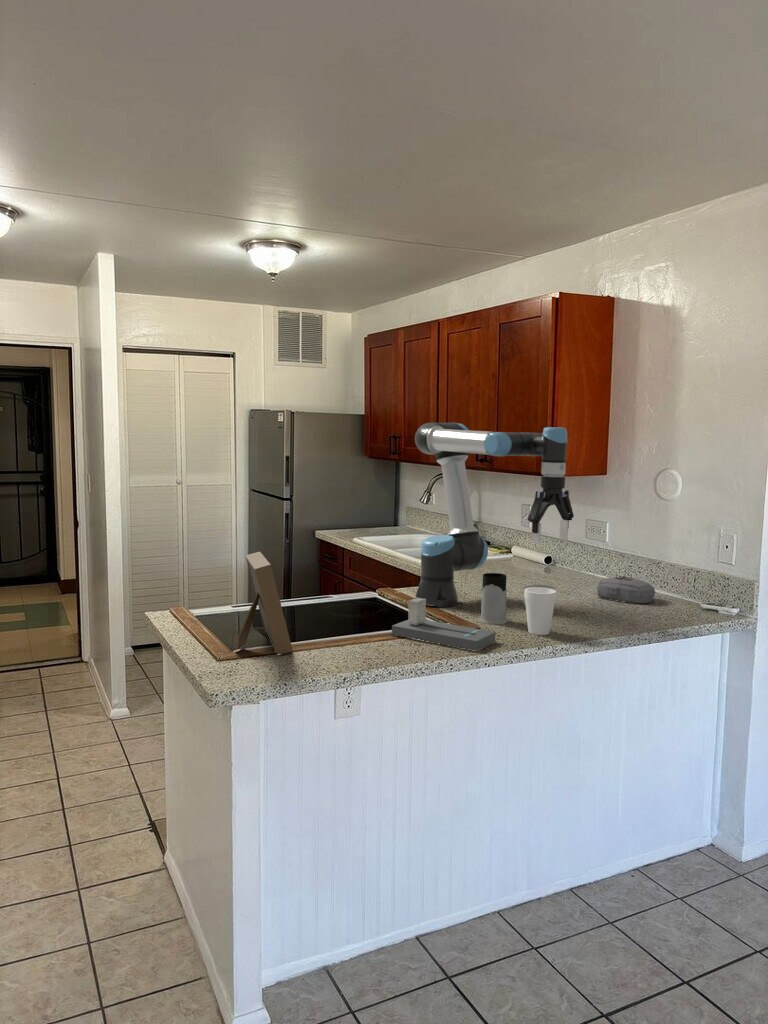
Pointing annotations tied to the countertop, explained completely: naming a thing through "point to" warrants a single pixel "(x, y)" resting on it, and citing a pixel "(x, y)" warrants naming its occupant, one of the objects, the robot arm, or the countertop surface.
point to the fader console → (446, 634)
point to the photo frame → (265, 605)
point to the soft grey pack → (626, 590)
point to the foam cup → (539, 609)
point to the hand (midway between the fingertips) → (549, 541)
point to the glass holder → (493, 598)
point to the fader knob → (417, 611)
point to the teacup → (538, 586)
